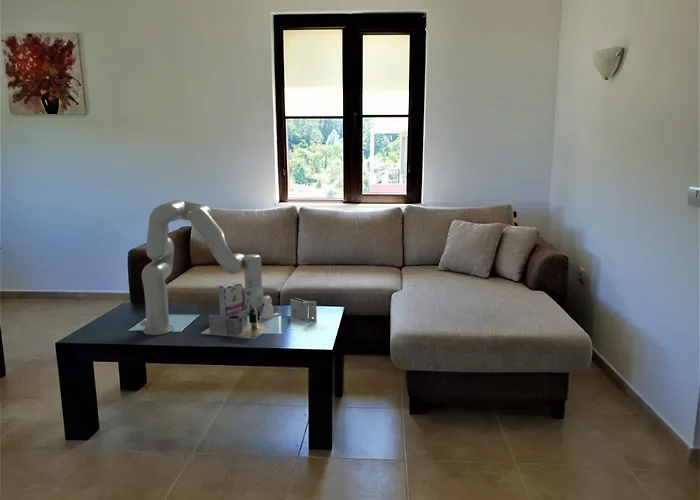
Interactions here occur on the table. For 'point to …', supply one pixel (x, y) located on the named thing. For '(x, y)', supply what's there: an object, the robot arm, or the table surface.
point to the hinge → (303, 310)
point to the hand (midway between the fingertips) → (254, 321)
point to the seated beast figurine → (268, 309)
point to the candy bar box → (230, 299)
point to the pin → (255, 325)
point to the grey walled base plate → (234, 326)
